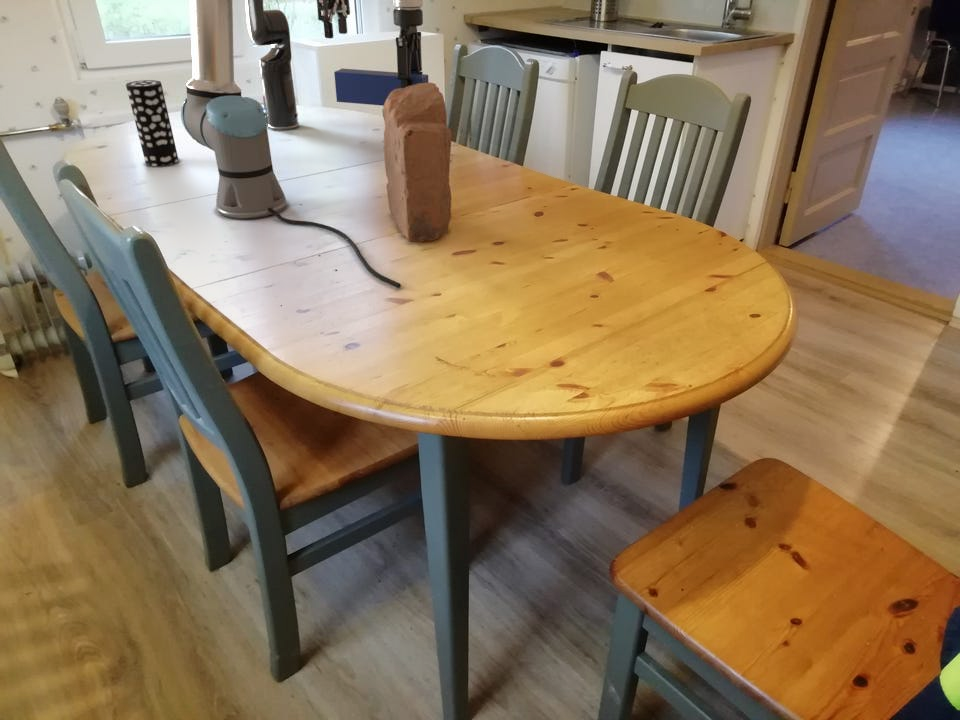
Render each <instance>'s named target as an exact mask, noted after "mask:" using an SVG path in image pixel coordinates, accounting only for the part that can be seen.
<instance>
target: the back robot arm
mask: <svg viewBox="0 0 960 720" xmlns="http://www.w3.org/2000/svg"><path fill="white" fill-rule="evenodd" d="M316 7H317V19H318V21H321V22H322V23H323V30H324V31H323V34H324V38H325V39H334V28H333V27H334V26H333V19H334V16H335V15H336V16H337V27H338V33H339V34H341V35H346V34H347V33H348V25H347V24H348V23H347V22H348V21H347V19H348V16H350V15H351V7H350V0H316ZM245 12H246V13H245V14H246V24H247V30H248V34H249V37H250V39H251V42H252V43H253V44H254V45H256V46H258V47H266V46H271V47H270V50H269V51H268V52H267V53H266V54H265V55H263V56H262V57H261V58H260V59H259V61H258V64H259V71H260V77H261V83H262V90H263V94H262V101H263V102H262V103H263V110H264V115H265V117H266V122H267V127H268V128H269V129H271V130H276V131H277V130H278V131H283V130H284V131H286V130H293V129H296V128H298V127H300V123H299V118H298V117H299V112H298V110H297V102H296V95H295V86H294V78H293V72H292V71H293V69H292V57H293V56H292V46H291V45H292V44H291V31H290V26H289V25H290V24H289V21H288V18H287V17H286V14H285V13H284V12H283V11H282V10H281V9H266V10H265V9H264V0H245Z"/></svg>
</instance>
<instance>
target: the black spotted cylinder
mask: <svg viewBox="0 0 960 720" xmlns="http://www.w3.org/2000/svg"><path fill="white" fill-rule="evenodd" d="M125 87H126V91H127V95H128V99H129V103H130V107H131V110H132V115H133V118H134V122H135V123H134V124H135V127H136V130H137V134H138V139H139V143H140V146H141V150H142V155H143V158H144V163H145V164H146V165H147V166H151V167H164V166H170V165H174V164H176V163H178V162H179V155H178V150H177V146H176V142H175V137H174V133H173V128H172V125H171V121H170V116H169V111H168V107H167V103H166V98H165V93H164V89H163V84H162V81H161V80H155V79H154V80H153V79H151V80H150V79H145V80H144V79H141V80H134V81H130V82H129V81H128V82H127V83H126V84H125Z"/></svg>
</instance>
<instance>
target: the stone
mask: <svg viewBox="0 0 960 720" xmlns="http://www.w3.org/2000/svg"><path fill="white" fill-rule="evenodd" d="M381 110H382V111H381V112H382V119H383V121H384V131H383V157H384V158H383V159H384V168H385V169H384V170H385V175H386V178H387V183H386V194H387V195H386V196H387V202H388V208H389V211H390V214H391V215H392V218H393V220H394V221H395V223H396V225H397V226H398V229H399V231H400V233H402V235H403V236H404V237H405V239H406V240H407V241H408V242H410V243H421V242H424V241H435V240H436V239H439V238H440V237H441V236H442V235H443V234H445V233H447V232H448V231H449V225H450V222H451V219H452V192H451V185H450V168H451V166H450V164H451V154H452V153H451V152H452V129H451V128H449V125H448V124H447V107H446V102H445V98H444V95H443V93H442V92H441V91H440V87H438V86H437V84H436V83H433V82H428V83H418V84H415V85H410V86H407V87H405V88H400V89H395V90H393V91H392V92H391V93H390V94H389V96H388V98H387V99H386V101H385V103H384V106H382V109H381Z"/></svg>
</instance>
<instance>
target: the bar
mask: <svg viewBox="0 0 960 720" xmlns="http://www.w3.org/2000/svg"><path fill="white" fill-rule="evenodd" d="M333 74H334V83H335V84H334V85H335V86H334V87H335V96H336V103H347V104H357V105H358V104H359V105H370V106H382V107H383V106H384V103H385V101H386V99H387V98H388V96H389V94H390V93H391V92H392V91H393V90H395V89H400V88H402V86H401V80H398V71H397V72H395V71H383V70H381V71H380V70H369V69H356V68H340V69H338V70H335V71H334V73H333ZM410 80H412V85H415V84H418V83H429V74H426V73H425V74H424V73H422V74H412V73H411V75H410Z"/></svg>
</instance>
